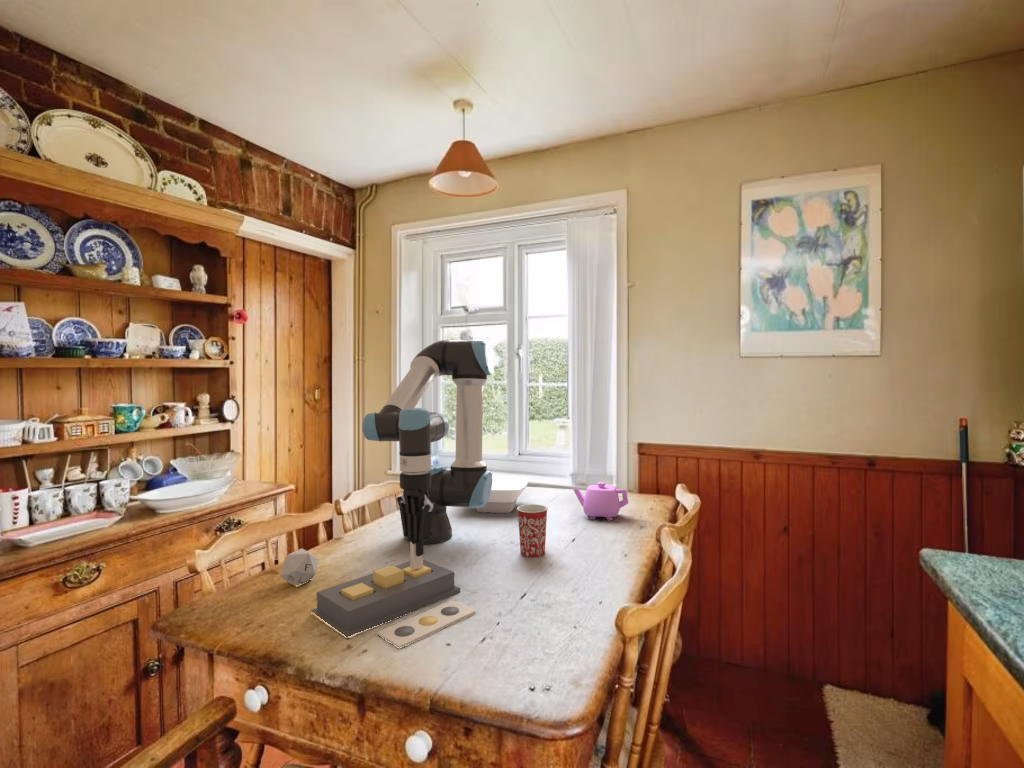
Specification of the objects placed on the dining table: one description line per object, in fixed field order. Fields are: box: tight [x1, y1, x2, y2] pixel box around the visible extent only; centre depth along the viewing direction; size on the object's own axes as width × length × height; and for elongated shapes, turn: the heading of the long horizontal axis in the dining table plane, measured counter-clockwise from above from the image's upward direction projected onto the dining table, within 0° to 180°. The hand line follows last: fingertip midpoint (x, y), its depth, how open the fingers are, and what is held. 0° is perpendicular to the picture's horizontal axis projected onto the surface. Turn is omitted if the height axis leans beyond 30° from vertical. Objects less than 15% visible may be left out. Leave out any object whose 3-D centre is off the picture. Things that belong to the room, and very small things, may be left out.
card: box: [376, 599, 477, 648], centre depth 108 cm, size 8×20×1 cm, turn 137°
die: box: [279, 547, 320, 586], centre depth 131 cm, size 8×9×10 cm
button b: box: [372, 564, 404, 589], centre depth 119 cm, size 5×5×4 cm
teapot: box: [573, 481, 629, 521], centre depth 188 cm, size 20×12×13 cm, turn 75°
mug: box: [516, 503, 549, 558], centre depth 152 cm, size 13×9×14 cm
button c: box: [402, 565, 431, 578], centre depth 124 cm, size 5×5×4 cm
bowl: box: [475, 476, 528, 514], centre depth 202 cm, size 24×25×10 cm
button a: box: [341, 583, 374, 601], centre depth 113 cm, size 5×5×4 cm
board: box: [310, 559, 461, 637], centre depth 119 cm, size 16×30×5 cm, turn 137°
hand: (416, 567), depth 124 cm, fingers closed
